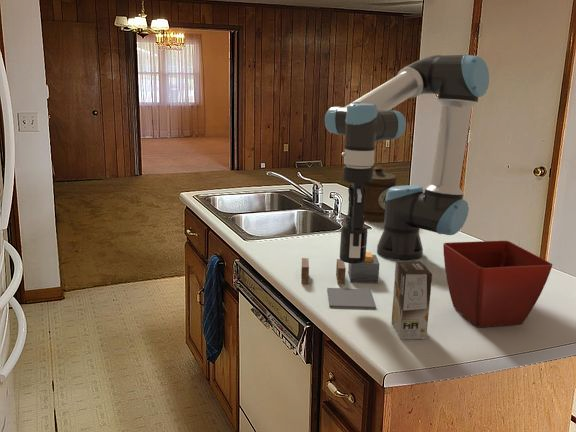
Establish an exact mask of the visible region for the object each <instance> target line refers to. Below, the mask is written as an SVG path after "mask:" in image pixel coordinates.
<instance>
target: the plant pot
mask: <svg viewBox="0 0 576 432" xmlns="http://www.w3.org/2000/svg"><path fill="white" fill-rule="evenodd" d="M442 245H443V248H442V249H443V261H444V270H445V277H446V281H447V287H448V290H449V296H450V299H451V303H452V306H453V308H454V309H455V310H457V311H458V312H459V313H460V314H461V315H462V316H463V317H464V318H466V319H467V320H468V321H469V322H470V323H471V324H473V325H474V326H475V327H478V328H485V327H488V328H490V327H503V326H504V327H505V326H513V325H515V326H517V325H523V324H524V322H525V321H526V319H527V318H528V317H529V315H530V313H531V311H532V310H533V309H534V307H535V305H536V304H537V302H538V300H539V298H540V296H541V294H542V292H543V290H544V288H545V286H546V283H547V281H548V278H549V275H550V273H551V271H552V267H553V263H551V262H549V261H547V260H546V259H544V258H541V257H540V256H538V255H536V254H534V253H532V252H530V251H528V250H527V249H524V248H522V247H521V246H519V245H517V244H515V243H513V242H511V241H509V240H486V241H485V240H484V241H483V240H482V241H457V242H456V241H455V242H452V241H451V242H443V244H442Z"/></svg>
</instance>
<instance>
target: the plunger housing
mask: <svg viewBox="0 0 576 432" xmlns="http://www.w3.org/2000/svg"><path fill="white" fill-rule="evenodd" d="M372 256H373V261H372V262H362V263H358V264H352V263H348V266H347V267H348V268H347V269H348V270H347V273H348V277H349V282H350V283H354V284H379V276H380V275H379V274H380V262H379V259H378V256H377V255H376V254H372Z"/></svg>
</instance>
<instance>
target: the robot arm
mask: <svg viewBox="0 0 576 432" xmlns="http://www.w3.org/2000/svg"><path fill="white" fill-rule="evenodd" d="M489 82H490V70H489V68H488V65H487V63H486V61H485V60H484V58H482V57H481V56H479V55H473V54H471V55H469V54H461V55H460V54H455V55H454V54H453V55H448V54H447V55H442V54H438V55H437V54H436V55H430V56H427V57H424V58H421V59H419V60H416V61H414V62H412V63H411V64H410V63H409V64H408V65H407V66H404V67H403V68H402V69H400V70H399V71H398V72H397V74H396V75H395V76H394V77H392V78H391V79H389V80H387V81H385V83H383V84H381V85H379V86H377V87H376V88H374V89H372V90H371V91H369V92H368V93H365V94H364V95H362V96H361V97H359V98H357V99H355V100H354V101H352V102H350V103H349V104H347V105H345V106H340V105H339V106H332V107H330V108H329V109H328V110H327V111H326V113H325V115H324V126H325V129H326V130H327V132H329V133H330V134H335V135H338V136H345V137H344V151H343V152H342V153H341V156H342V157H343V164H344V166H343V168H342V180H343V181H344V182H345V183H349V186H348V189H347V190H348V207H347V208H348V211H347V215H348V214H352V230H351V231H348V233H349V234H350V249H349V258H360V249H361V233H363V225H364V224H363V213H364V198H365V190H364V188H363V184H364V183H370V182H372V180H373V172H374V168H373V166H374V164H375V154H376V153H375V152H376V149H375V148H376V147H375V146H376V145H375V144H376V141H387V140H389V141H392V140H395V139H398V138H401V137H402V136H403V135H404V133H405V130H406V127H407V122H406V118H405V116H404V114H402V112H400V111H398V110H392V109H393V108H396V107H397V106H398V105H399V104H401V103H403V102H405V101H406V100H408V99H414V98H417V97H418V96H421V95H426V94H427V95H429V94H431V95H432V94H433V95H438V97H437V101H438V102H439V104H440V105H441V110H440V111H441V112H440V119H439V123H438V132H437V137H436V138H437V139H436V144H435V145H436V146H435V152H434V158H433V165H432V172H431V180H430V184H428V185H426V187H425V188H423V186H420V185H412V184H411V185H406V184H405V185H395V187H391V188H389V189H388V190H387V194H386V200H385V201H386V203H385V218H384V222H383V232H382V233H381V236H380V238H379V241H378V243H377V246H376V253H377V254H378V255H379V256H380V257H382V258H386V259H388V260H392V261H393V260H394V261H417V260H419V259H421V258H422V257H423V253H424V249H423V244H422V240H421V235H420V229H421V230H424V231H429V232H433V233H436V234H438V235H445V236H454V235H456V234H458V233H459V232H460V230H461V229H462V228H463V227H464V225H465V223H466V221H467V218H468V216H469V215H468V214H469V212H470V211H469V204H468V201H467V200H465V199H464V197H463V196H464V192H463V191H462V189H461V188H460V185H461V177H462V170H463V166H464V159H465V158H464V157H465V151H466V146H467V138H468V133H469V132H468V131H469V125H470V119H471V112H472V110H473V107H475V106H476V105H477V104H478V103H479V98H481V97H483V96H484V95H485V94H487V90H488V89H489V85H490V83H489ZM356 228H359V229H356Z"/></svg>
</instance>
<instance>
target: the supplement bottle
mask: <svg viewBox="0 0 576 432" xmlns="http://www.w3.org/2000/svg"><path fill="white" fill-rule="evenodd" d="M364 219H365V217H364V216H363V233H361V249H360V258H349V249H350V234H349V233H348V231H351V230H352V214H348V213H347V214H346V215H345V222H344V223H345V224H344V225H342V227H341V231H340V243H339V245H340V246H339V259H340V260H341V261H343V262H344V263H345V264H349V263H352V264H358V263H362V262H364V261H365V257H366V252H367V245H368V244H367V243H368V242H367V241H368V228H367V227H366V226H365V223H366V221H364ZM356 229H359V228H356Z"/></svg>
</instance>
